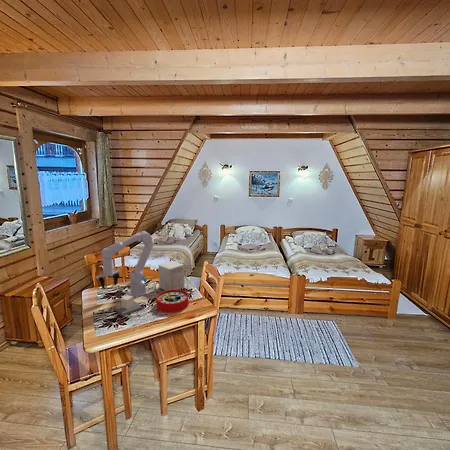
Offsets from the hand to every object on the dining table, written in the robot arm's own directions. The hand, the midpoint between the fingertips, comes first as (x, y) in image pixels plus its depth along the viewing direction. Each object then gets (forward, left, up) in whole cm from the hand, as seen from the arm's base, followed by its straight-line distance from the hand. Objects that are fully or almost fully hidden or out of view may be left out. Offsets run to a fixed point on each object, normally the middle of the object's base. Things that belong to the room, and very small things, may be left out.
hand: (109, 286), depth 167 cm
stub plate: (-3, +19, -9) cm, 21 cm away
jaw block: (-3, +19, -8) cm, 21 cm away
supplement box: (-40, +11, -10) cm, 43 cm away
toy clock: (-26, +33, -10) cm, 43 cm away
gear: (-26, -12, -10) cm, 31 cm away
